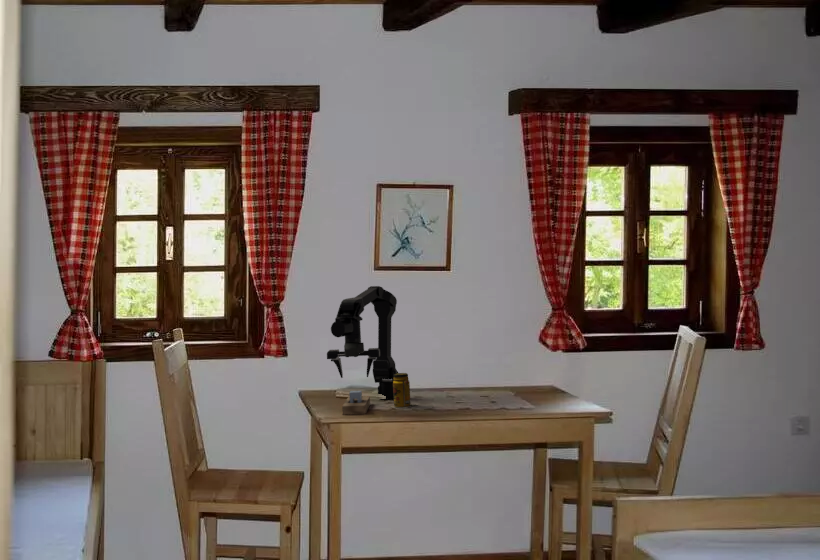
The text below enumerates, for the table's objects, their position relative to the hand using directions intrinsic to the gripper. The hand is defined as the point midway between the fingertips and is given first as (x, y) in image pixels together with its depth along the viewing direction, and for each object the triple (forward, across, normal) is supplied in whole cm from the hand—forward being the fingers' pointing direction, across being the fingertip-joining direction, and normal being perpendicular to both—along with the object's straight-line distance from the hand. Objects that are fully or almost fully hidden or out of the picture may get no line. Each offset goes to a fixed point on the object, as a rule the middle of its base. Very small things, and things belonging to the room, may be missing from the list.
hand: (354, 377), depth 376 cm
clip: (+12, 0, 0) cm, 12 cm away
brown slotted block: (+12, 0, +1) cm, 12 cm away
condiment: (+12, +17, +4) cm, 21 cm away
